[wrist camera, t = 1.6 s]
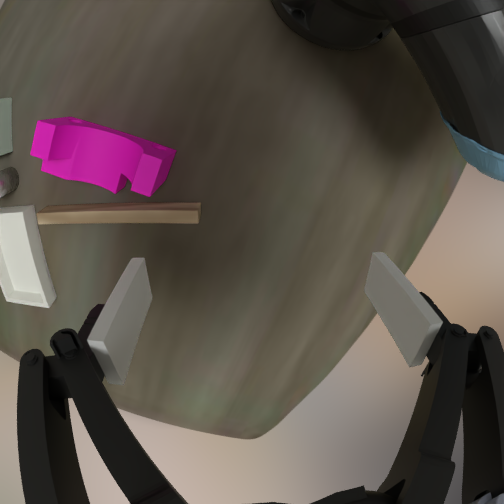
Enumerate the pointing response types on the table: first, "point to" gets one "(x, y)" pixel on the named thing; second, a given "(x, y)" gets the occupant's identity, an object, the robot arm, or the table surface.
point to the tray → (23, 259)
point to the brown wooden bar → (121, 213)
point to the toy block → (100, 155)
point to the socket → (5, 126)
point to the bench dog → (8, 181)
